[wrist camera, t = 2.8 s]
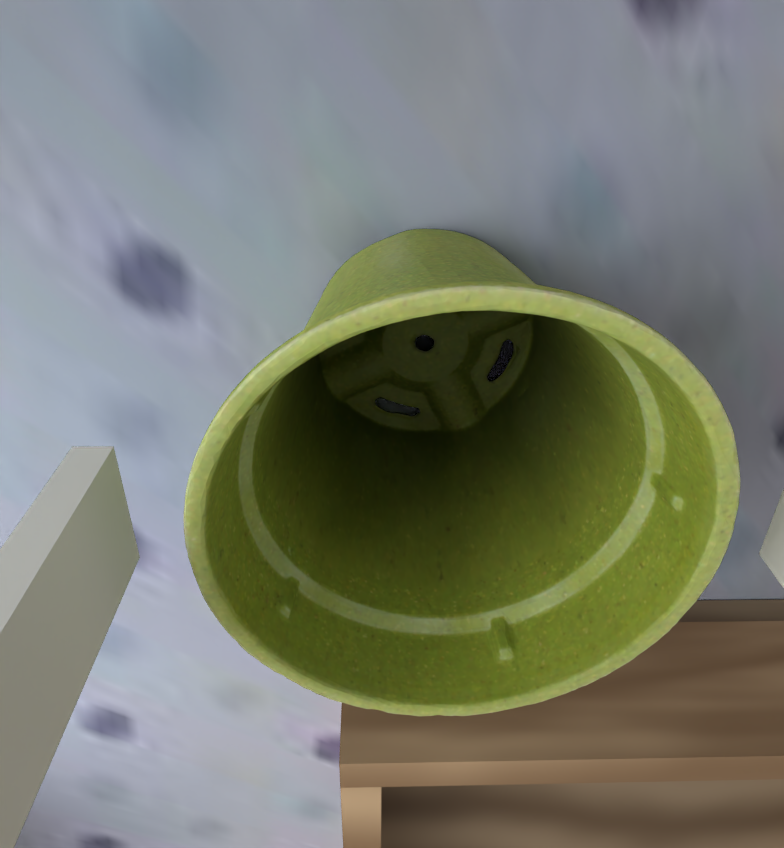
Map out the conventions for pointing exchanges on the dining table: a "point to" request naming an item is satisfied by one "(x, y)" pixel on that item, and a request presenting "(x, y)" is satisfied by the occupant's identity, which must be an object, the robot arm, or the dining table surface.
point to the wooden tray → (592, 754)
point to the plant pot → (459, 488)
